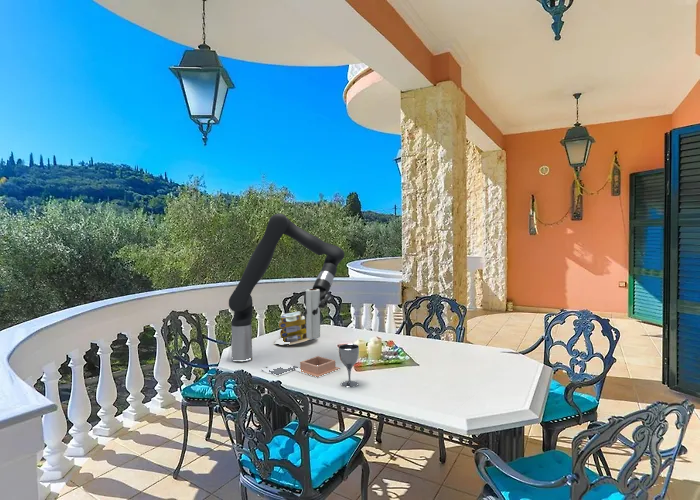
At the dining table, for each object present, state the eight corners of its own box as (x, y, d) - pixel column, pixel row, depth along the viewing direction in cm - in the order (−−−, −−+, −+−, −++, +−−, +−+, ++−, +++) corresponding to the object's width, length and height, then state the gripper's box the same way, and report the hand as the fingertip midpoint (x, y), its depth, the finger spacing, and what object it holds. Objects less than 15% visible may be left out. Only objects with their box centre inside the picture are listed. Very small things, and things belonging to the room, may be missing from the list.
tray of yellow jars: (267, 347, 213) (266, 316, 213) (281, 336, 238) (280, 308, 237) (311, 348, 210) (310, 317, 209) (321, 336, 234) (320, 308, 234)
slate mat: (260, 370, 175) (260, 368, 175) (281, 363, 184) (281, 362, 184) (277, 376, 167) (277, 374, 167) (299, 368, 176) (299, 367, 176)
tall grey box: (313, 335, 179) (312, 288, 178) (323, 337, 175) (322, 289, 174) (301, 338, 173) (301, 289, 172) (311, 340, 169) (310, 291, 169)
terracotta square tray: (295, 371, 173) (295, 362, 173) (318, 363, 184) (318, 354, 184) (317, 377, 164) (317, 368, 164) (340, 369, 175) (340, 360, 174)
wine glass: (342, 388, 152) (341, 350, 151) (337, 381, 159) (336, 344, 159) (362, 386, 154) (361, 348, 153) (356, 379, 161) (355, 343, 161)
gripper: (307, 277, 183) (292, 307, 172) (334, 278, 177) (320, 310, 166) (313, 287, 188) (299, 317, 177) (339, 288, 182) (327, 320, 171)
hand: (310, 313), depth 172 cm, fingers closed on tall grey box, 3 cm apart
